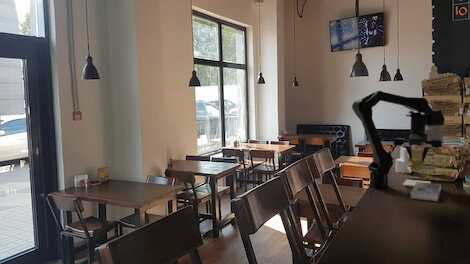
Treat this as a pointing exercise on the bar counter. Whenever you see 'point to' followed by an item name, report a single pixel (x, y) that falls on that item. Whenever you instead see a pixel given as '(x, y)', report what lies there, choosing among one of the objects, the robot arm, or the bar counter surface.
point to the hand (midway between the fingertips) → (417, 162)
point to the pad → (413, 182)
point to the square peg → (417, 159)
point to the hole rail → (426, 191)
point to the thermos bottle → (434, 132)
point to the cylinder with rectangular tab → (402, 161)
